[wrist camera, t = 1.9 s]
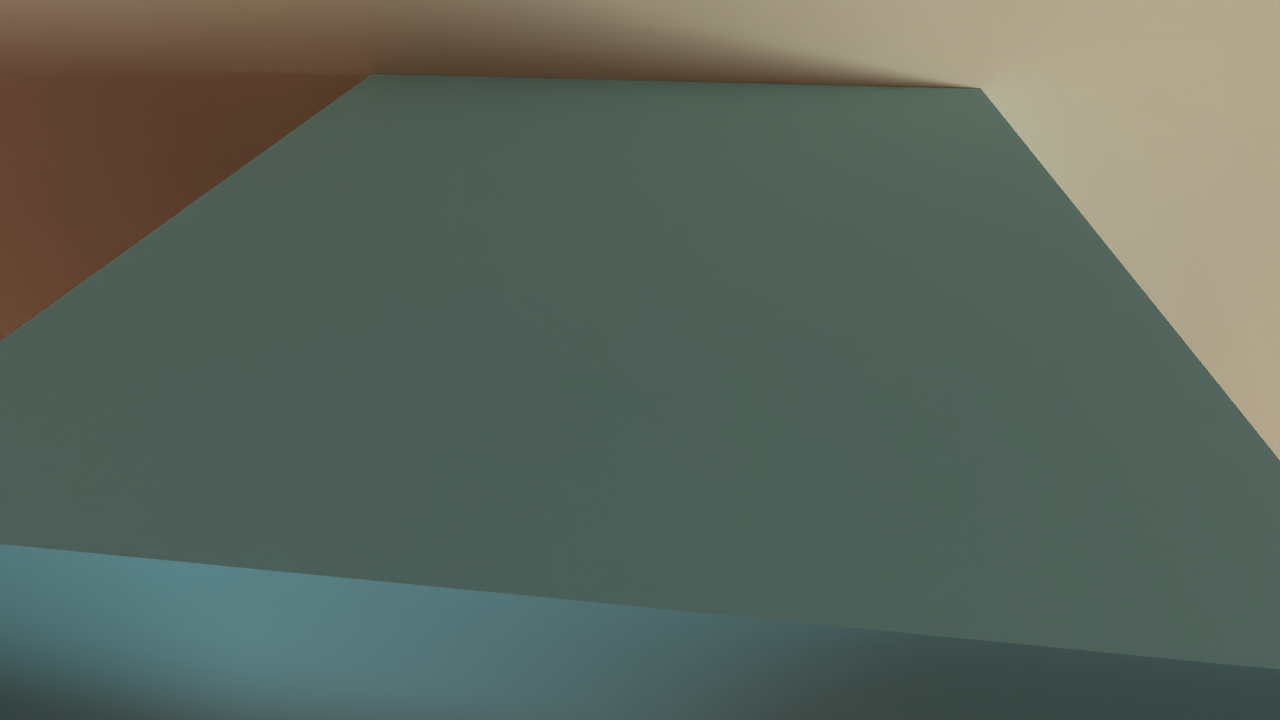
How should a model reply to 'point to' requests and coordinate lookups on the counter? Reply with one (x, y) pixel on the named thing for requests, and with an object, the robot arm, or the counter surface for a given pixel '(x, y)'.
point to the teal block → (629, 431)
